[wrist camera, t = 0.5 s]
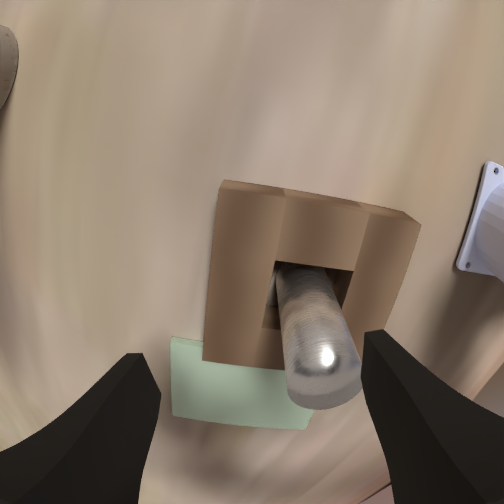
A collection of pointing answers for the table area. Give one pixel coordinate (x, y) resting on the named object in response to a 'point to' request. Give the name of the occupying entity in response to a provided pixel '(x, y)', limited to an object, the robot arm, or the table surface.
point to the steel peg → (315, 339)
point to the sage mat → (230, 391)
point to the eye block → (303, 252)
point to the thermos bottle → (7, 62)
